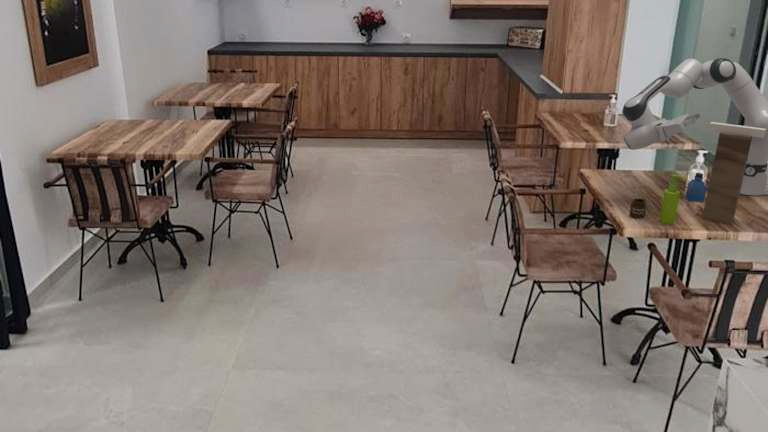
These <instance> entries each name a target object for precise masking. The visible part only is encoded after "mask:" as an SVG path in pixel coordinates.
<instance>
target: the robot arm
mask: <svg viewBox="0 0 768 432" xmlns="http://www.w3.org/2000/svg"><path fill="white" fill-rule="evenodd" d="M719 85H721V86H722V88H723V89H724V90H725V92H726V94H727V95H728V97H729V98H730V100H731V101H732V103H733V105H735V107H736V108H737V110H738V111H739V112H740V114H741V115H742V116H743V118H744V120H745V121H744V126H748V127H756V128H764V129H766V132H765V136H764V138H761V137H753V136H752V140H751V145H750V149H749V154H748V159H747V164H746V168H745V172H744V177H743V181H742V186H741V190H740V195H747V196H768V175H767V174H766V172H767V169H768V100H767V99H766V96H764V95H763V93H762V92H761V91H760V89H759V87H758V86H757V84H756V83H755V82H754V80H753V79H752V77H751V75H750V74H749V73H748V72H747V71H746V70H745V68H744V67H742V65H740V64H739V63H738V62H737V61H736V62H735V61H734V62H733V61H732V60H730V59H728V58H726V57H720V58H719V57H718V58H716V59H711V60H708V61H706V62H704V63H701V62H700V61H699V60H697V59H695V58H688V59H685V60H683V61H682V62H681V63H679V65H677V66H676V67H675V68H674V69H673V70H672V71H671V73H669V74H668V75H661V76H659V77H658V78H656V79H655V80H653V81H652V82H651V83H650V84H648V85H647V86H646V87H645V88H643V89H642V90H641V91H640V92H639V93H637V94H636V95H635V96H633V97H631V98H630V99H628V100H627V101H626V102H624V104H623V108H622V115H623V116H624V118H625V119H626V120H627V121H628V122H629V125H630V126H631V129H629V131H628V132H625V133H624V134H623V140H624V142H625V144H626V146H627V147H628V149H630V150H631V151H632V150H633V151H635V150H640V149H643V148H647V147H649V146H651V145H653V144H657V143H661V142H665V141H667V140H670V139H672V137H673V136H675V135H678V134H679V133H682V132H683V131H684V130H685V129H686V128H687V127H688V126H691V125H693V124H695V123H697V122H698V119H700V118H701V114H700V113H695V114H689V113H686V114H683V115H680V116H678V117H675V118H673V119H666V118H664V117H663V118H661V119H659V120H657V118H656V117H655V116H654V114H653V112H652V111H651V109H650V107H649V102H650V101H651V100H652V99H653V98H654V97H656V96H657V95H659V94H660V93H661V94H663V95H664V96H665V97H668V98H671V99H681V98H683V97H685V96H686V95H687V94H688V93H689V92H690V91H691V90H692V89H693V88H694V89H697V90H703V89H708V88H713V87H716V86H719Z"/></svg>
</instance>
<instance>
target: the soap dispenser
mask: <svg viewBox="0 0 768 432" xmlns="http://www.w3.org/2000/svg"><path fill="white" fill-rule="evenodd" d="M670 177H672V179H671V181H668V182H669V183H668V188H667V189H664V190H663V196H662V202H661V208H660V211H659V212H660V213H659V219H658V222H660V223H661V222H662V224H665V225H673V224H675V222H676V221H675V220H676V218H677V211H678V206H679V201H680V195H681V192H680V191H679V190H678V188H679V183H678V182H677V180H678V179H682V180H685V179H686V178H687V177H686V176H684V175H681V174H674V173H672V174H671V175H670Z"/></svg>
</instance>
